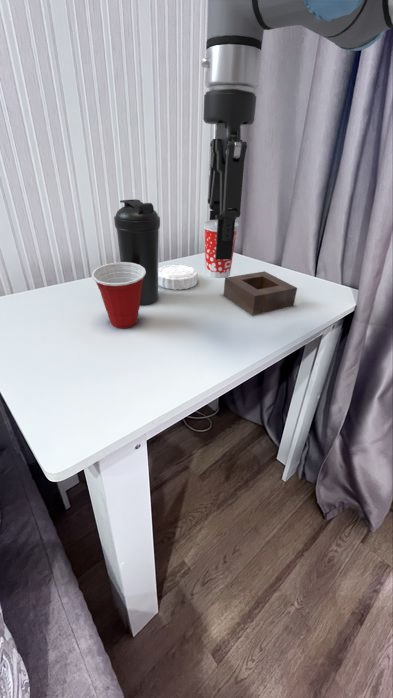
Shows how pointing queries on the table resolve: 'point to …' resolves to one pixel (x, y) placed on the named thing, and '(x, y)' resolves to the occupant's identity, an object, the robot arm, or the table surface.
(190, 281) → the mooncake
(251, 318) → the table surface
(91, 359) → the table surface
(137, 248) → the water bottle
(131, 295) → the plastic cup
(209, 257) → the beverage cup
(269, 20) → the robot arm
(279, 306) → the holder
